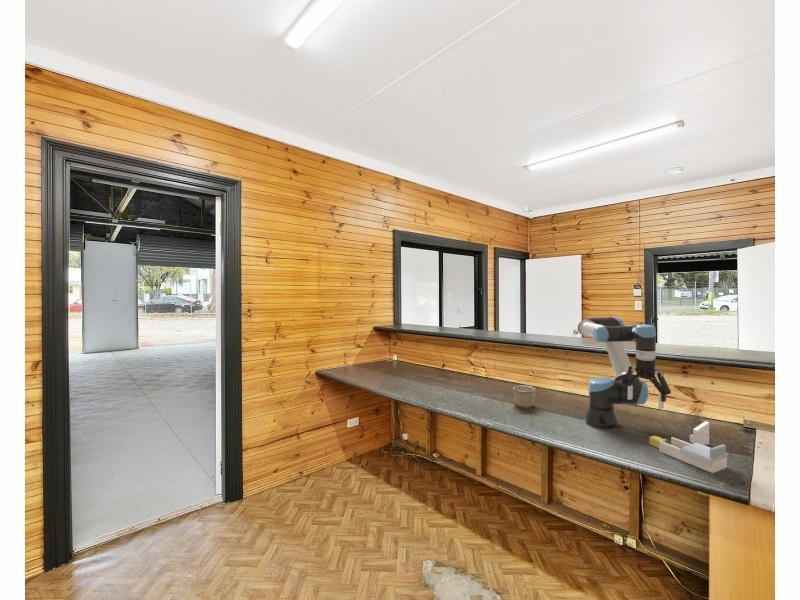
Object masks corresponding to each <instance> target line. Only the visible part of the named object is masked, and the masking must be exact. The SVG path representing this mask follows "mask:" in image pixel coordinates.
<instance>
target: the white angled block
mask: <svg viewBox="0 0 800 600" xmlns="http://www.w3.org/2000/svg"><path fill="white" fill-rule="evenodd" d="M692 433H693V434H689V443H690V444H693V443H699V444H702V445H705V446H708V445H710V422H709V421H707V420H705V421H703V422H701V423H700V424H699V425H697V426H696V427H694V428H693V430H692Z"/></svg>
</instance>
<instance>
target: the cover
mask: <svg viewBox="0 0 800 600" xmlns="http://www.w3.org/2000/svg"><path fill="white" fill-rule="evenodd" d="M690 444H691V445H688V446H685V447H682V448H680V454H683V455H685V456H688V457H690V458H693V459H695V460H698V461H700V462H703V463H705V464H708V465H710V466H711V465H712V461H715V460H718V459H720V458H723V457H727V460H729V453H728V452H727V445H726V444H723V443H722V444H719V445H717V446H714V447H710V446H708V445H702V444H699V443H690Z"/></svg>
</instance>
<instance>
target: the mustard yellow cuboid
mask: <svg viewBox="0 0 800 600" xmlns="http://www.w3.org/2000/svg"><path fill="white" fill-rule="evenodd" d="M659 441H662V442H665V443H667V439H665V438H662V437H660V436H657V435H651V436H649V445H651V446H653V447H654V448H657V449H659Z"/></svg>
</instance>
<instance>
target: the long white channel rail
mask: <svg viewBox="0 0 800 600" xmlns="http://www.w3.org/2000/svg"><path fill="white" fill-rule="evenodd" d="M670 440H671V441H670V444H669V443H667V442H666V443H665V442H662V441H659V448H658V451H659V452H660V453H662V454H665V455H666V456H670V457H672V458H673V459H677V460H679V461H682V462H684V463H687V464H689V465H692V466H695V467H696V468H699V469H702V470H703V471H706V472H709V473H711V474H714V473H717V472H719V471H722V470H725V469H726V468H727V467H728V465H727V460H728V459H727V457H723V458H720V459H718V460H715V461H712V465H711V466H710V465H708V464H705V463H703V462H700V461H698V460H695V459H693V458H690V457H688V456H685V455H683V454H680V448H682V447H685V446H688V445H691V444H692V443H691V442H687V441H685V440H682V439H680V438H676V437H674V436H673V437H671V438H670Z"/></svg>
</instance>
